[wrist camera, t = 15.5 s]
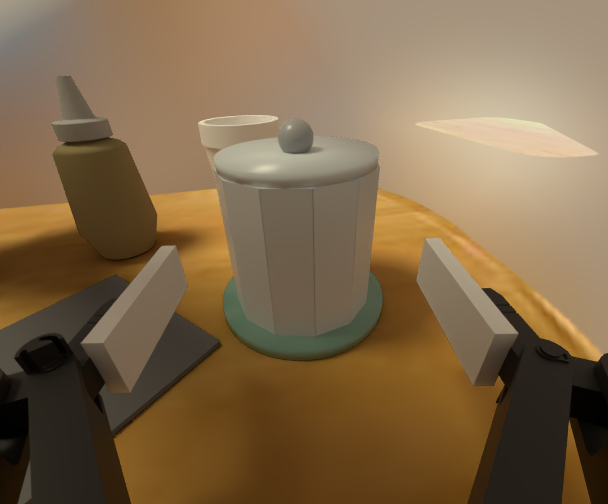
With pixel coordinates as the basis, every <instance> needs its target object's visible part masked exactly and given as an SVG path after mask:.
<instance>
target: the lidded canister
mask: <svg viewBox="0 0 608 504" xmlns="http://www.w3.org/2000/svg"><path fill="white" fill-rule="evenodd" d="M378 155H379V151H378V149H377V147H375V146H374V145H372V144H370V143H367V142H364V141H360V140H355V139H350V138H342V137H331V136H313V131H312V129H311V127H310V126H309V124H307V123H306V122H305V121H303V120H301V119H290V120H288V121H286V122H285V123H284V124H283V125H282V126H281V128H280V129H279V132H278V137H275V138H266V139H259V140H253V141H248V142H243V143H239V144H236V145H232V146H229V147H227V148H224V149H222V150H220V151H219V152H217V153H216V154H215V156H214V163H215V168H214V169H213V170H214V175H215V180H216V185H217V191H218V196H219V201H220V206H221V212H222V217H223V222H224V227H225V233H226V238H227V243H228V248H229V254H230V259H231V264H232V269H233V275H234V280H235V285H236V290H237V296H238V299H239V302H240V304H241V306H242V309H243V311H244V313H245V316H246V318H247V320H249V321H251V322H253V323H255V324H256V325H258V326H260V327H262V328H264V329H266V330H268V331H269V332H271V333H273V334H275V335H288V336H310V337H315V336H319V335H321V334H324V333H327V332H329V331H332V330H334V329H337V328H340V327H342V326H345V325H348V324H350V323H351V321H352V320H353V319H354V318H355V316H356V315H357V314H358V312H359V311H360V310H361V309H362V307H363V306H364V305H365V303H366V301H367V291H368V281H369V271H370V261H371V251H372V241H373V231H374V220H375V210H376V200H377V190H378V180H379V170H380V167H379V165H378Z"/></svg>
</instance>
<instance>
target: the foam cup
mask: <svg viewBox="0 0 608 504" xmlns="http://www.w3.org/2000/svg"><path fill="white" fill-rule="evenodd" d="M198 127H199V132H200V136H201V142H202V145H204V147H205V150H206V152H207V156H208V159H209V162H210V165H211V168H212V171H213V174H214V170H213V169H214V168H215V163H214V156H215V154H216V153H217V152H219V151H220V150H222V149H224V148H227V147H229V146H232V145H236V144H239V143H243V142H248V141H253V140H259V139H266V138H275V137H278V132H279V124H278V118H277V117H274V116H264V115H244V116H228V117H220V118H212V119H207V120H203V121H200V122H199V123H198ZM214 177H215V175H214Z"/></svg>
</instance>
